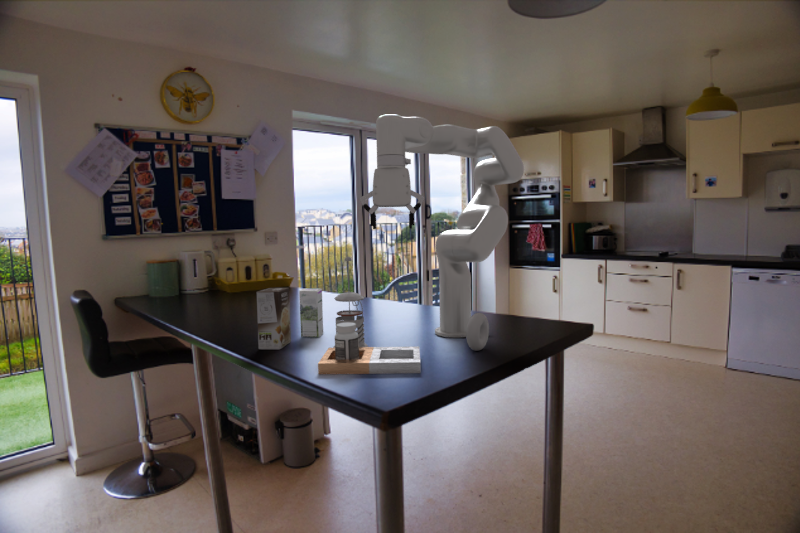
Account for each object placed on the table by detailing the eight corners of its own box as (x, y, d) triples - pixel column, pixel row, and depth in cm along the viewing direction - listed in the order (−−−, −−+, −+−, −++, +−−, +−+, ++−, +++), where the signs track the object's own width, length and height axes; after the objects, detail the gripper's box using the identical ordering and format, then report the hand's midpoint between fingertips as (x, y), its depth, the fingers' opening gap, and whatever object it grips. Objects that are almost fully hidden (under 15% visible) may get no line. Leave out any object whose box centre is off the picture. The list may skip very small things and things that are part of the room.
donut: (476, 355, 119) (476, 316, 118) (464, 354, 121) (463, 315, 120) (491, 346, 127) (491, 310, 127) (479, 345, 129) (479, 309, 128)
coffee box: (280, 349, 129) (278, 291, 127) (258, 349, 129) (255, 291, 128) (291, 341, 138) (289, 287, 136) (270, 341, 138) (268, 287, 137)
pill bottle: (357, 360, 117) (355, 321, 116) (361, 367, 111) (360, 325, 110) (334, 362, 115) (332, 322, 114) (337, 369, 110) (336, 327, 109)
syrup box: (323, 333, 148) (322, 287, 147) (318, 337, 142) (317, 290, 141) (306, 333, 148) (304, 287, 147) (300, 337, 143) (298, 290, 141)
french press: (326, 350, 127) (323, 257, 125) (345, 340, 138) (343, 255, 136) (359, 352, 124) (356, 257, 122) (376, 342, 135) (374, 255, 133)
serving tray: (419, 356, 119) (419, 346, 119) (420, 373, 106) (420, 362, 105) (329, 357, 120) (328, 347, 120) (318, 374, 106) (318, 363, 106)
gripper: (423, 165, 128) (424, 228, 130) (360, 166, 129) (361, 229, 130) (424, 161, 121) (425, 228, 122) (356, 162, 121) (358, 229, 122)
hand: (392, 228), depth 126 cm, fingers open, 9 cm apart
